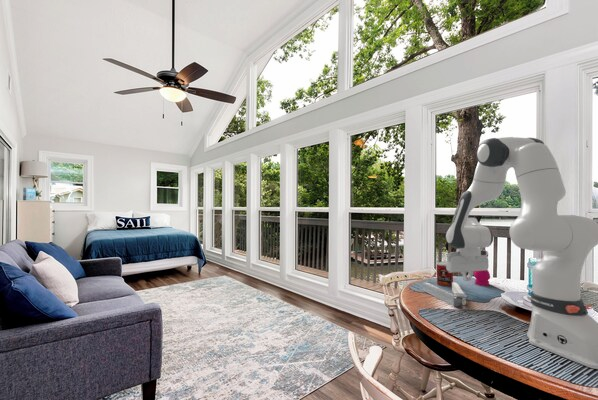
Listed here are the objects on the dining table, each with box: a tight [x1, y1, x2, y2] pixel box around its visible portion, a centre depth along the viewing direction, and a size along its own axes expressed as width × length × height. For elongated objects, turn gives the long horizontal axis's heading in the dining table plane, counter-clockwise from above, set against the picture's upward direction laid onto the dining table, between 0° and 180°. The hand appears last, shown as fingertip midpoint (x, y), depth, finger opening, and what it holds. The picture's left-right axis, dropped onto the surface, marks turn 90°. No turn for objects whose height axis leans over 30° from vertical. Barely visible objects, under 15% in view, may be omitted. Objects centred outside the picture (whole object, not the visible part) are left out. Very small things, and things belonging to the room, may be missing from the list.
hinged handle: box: [451, 281, 468, 306], centre depth 127 cm, size 24×4×5 cm, turn 160°
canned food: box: [436, 261, 454, 287], centre depth 151 cm, size 8×8×11 cm
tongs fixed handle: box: [422, 282, 463, 309], centre depth 128 cm, size 24×3×4 cm, turn 10°
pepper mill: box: [473, 248, 491, 287], centre depth 150 cm, size 7×7×20 cm
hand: (467, 280), depth 134 cm, fingers closed
